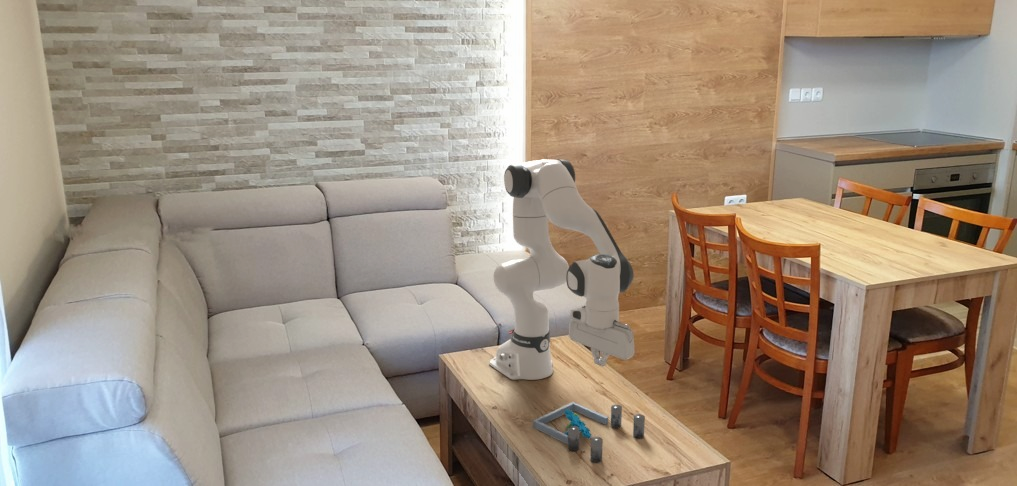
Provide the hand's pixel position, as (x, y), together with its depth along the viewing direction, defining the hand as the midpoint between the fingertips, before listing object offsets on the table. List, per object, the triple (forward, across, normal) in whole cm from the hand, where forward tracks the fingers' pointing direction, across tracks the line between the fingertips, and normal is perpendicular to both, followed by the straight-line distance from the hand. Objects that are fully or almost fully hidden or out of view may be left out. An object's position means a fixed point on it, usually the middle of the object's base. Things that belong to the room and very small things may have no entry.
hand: (600, 364), depth 209 cm
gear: (+22, +5, +3) cm, 23 cm away
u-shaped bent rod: (+22, +10, 0) cm, 24 cm away
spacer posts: (+22, -3, 0) cm, 22 cm away
